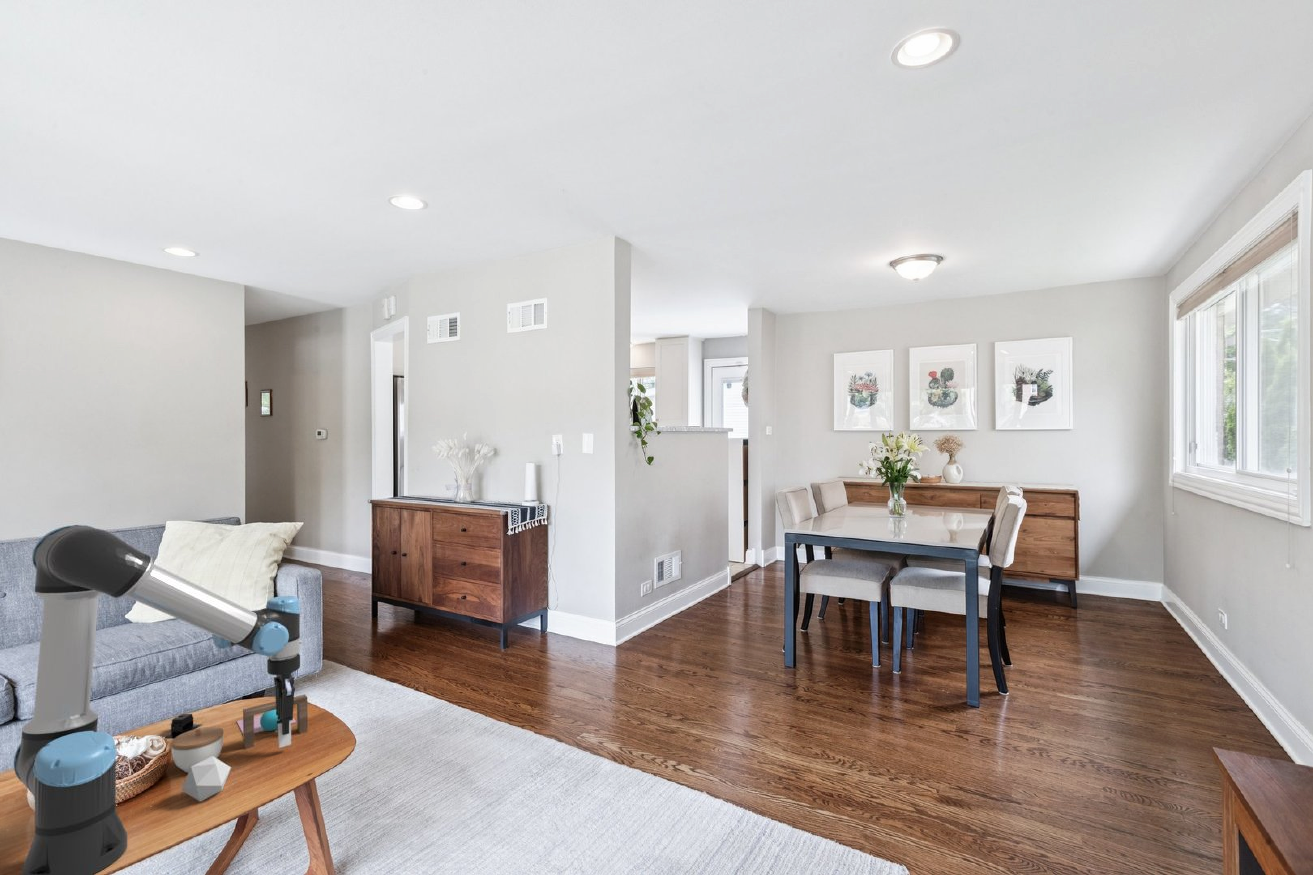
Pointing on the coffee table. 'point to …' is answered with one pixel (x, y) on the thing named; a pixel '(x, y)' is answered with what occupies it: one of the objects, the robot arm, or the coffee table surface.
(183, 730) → the black block on base
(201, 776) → the die
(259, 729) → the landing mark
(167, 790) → the coffee table surface
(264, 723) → the ball
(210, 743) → the lidded jar
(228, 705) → the coffee table surface
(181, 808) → the coffee table surface
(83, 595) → the robot arm
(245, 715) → the bridge
